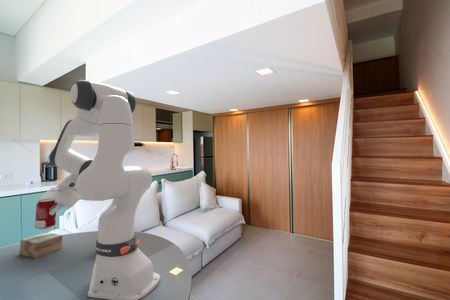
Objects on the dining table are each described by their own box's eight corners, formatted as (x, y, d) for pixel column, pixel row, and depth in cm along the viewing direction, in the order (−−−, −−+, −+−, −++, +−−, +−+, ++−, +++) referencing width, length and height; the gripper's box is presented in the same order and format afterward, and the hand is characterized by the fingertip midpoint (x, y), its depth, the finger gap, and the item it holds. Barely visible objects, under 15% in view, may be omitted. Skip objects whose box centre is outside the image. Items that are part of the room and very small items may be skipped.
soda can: (43, 230, 88) (45, 201, 88) (30, 229, 89) (32, 200, 89) (59, 225, 94) (60, 198, 95) (47, 224, 96) (48, 197, 96)
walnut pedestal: (61, 248, 95) (62, 234, 95) (35, 258, 85) (36, 243, 86) (46, 244, 98) (47, 231, 98) (19, 253, 89) (20, 239, 89)
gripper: (52, 181, 103) (25, 205, 93) (78, 185, 94) (52, 212, 85) (61, 189, 107) (37, 213, 97) (88, 193, 98) (64, 220, 89)
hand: (44, 212), depth 91 cm, fingers closed on soda can, 6 cm apart
